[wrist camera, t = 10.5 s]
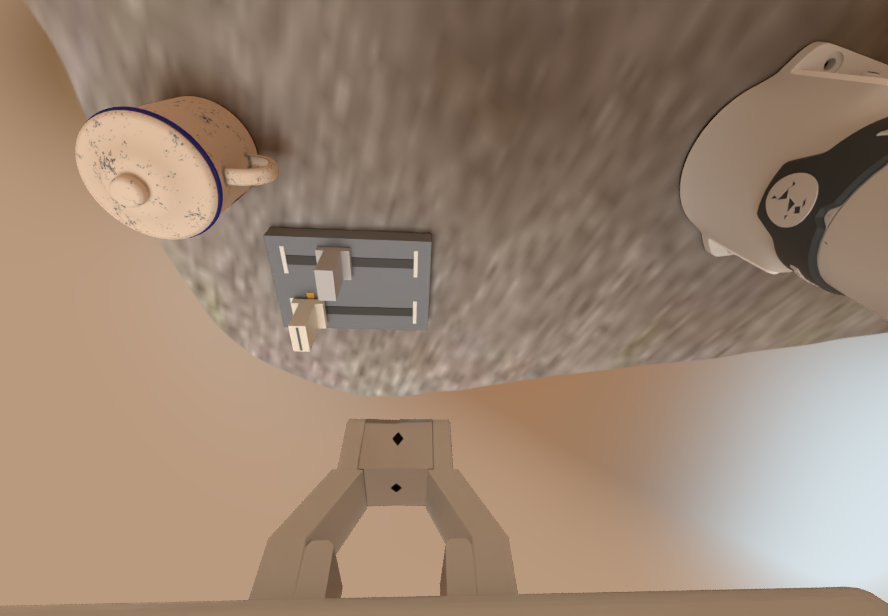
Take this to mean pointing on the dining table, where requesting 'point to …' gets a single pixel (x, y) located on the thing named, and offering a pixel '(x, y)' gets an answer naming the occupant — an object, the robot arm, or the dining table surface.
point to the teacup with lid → (169, 164)
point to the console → (353, 275)
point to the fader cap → (306, 322)
